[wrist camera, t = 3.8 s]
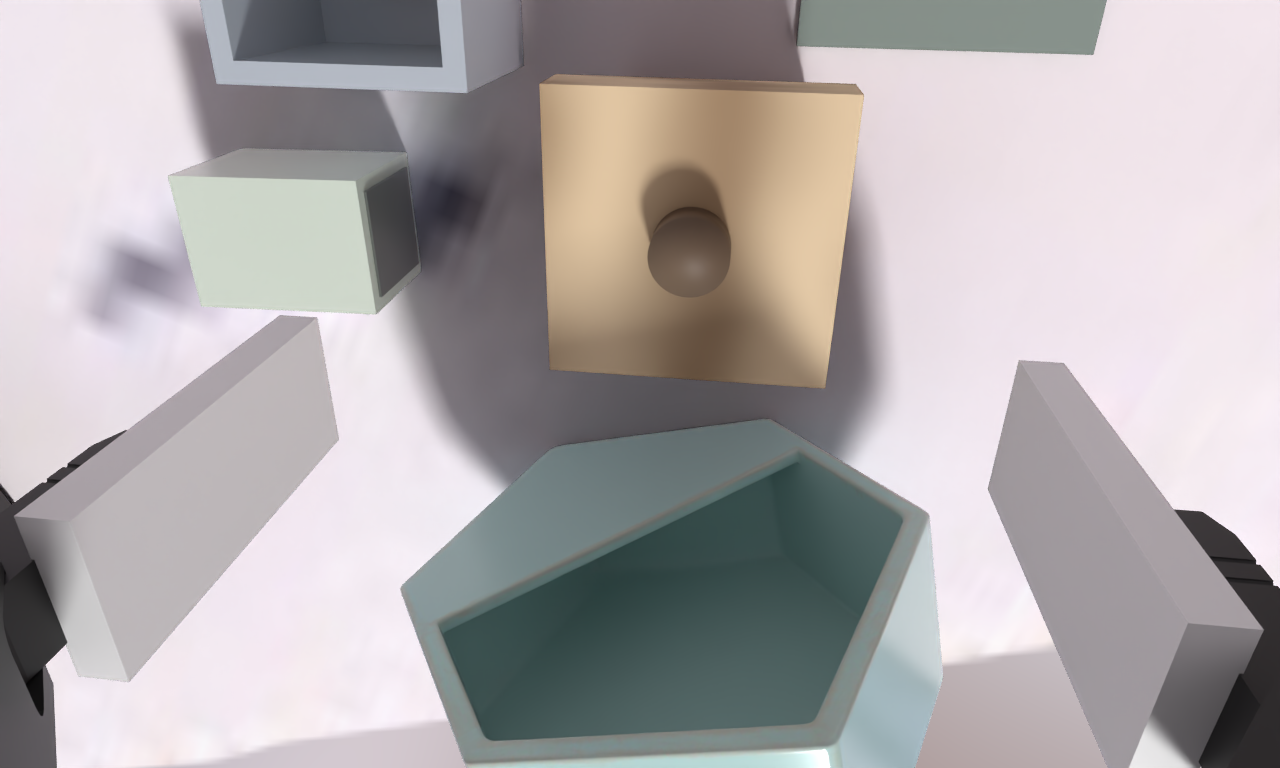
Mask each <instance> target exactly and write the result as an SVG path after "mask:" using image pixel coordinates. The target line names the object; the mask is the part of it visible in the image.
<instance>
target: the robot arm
mask: <svg viewBox="0 0 1280 768" xmlns="http://www.w3.org/2000/svg"><path fill="white" fill-rule="evenodd" d="M338 440H339V437H338V431H337V425H336V420H335V414H334V409H333V403H332V397H331V392H330V386H329V381H328V375H327V369H326V364H325V358H324V353H323V347H322V341H321V336H320V330H319V325H318V319H317V317H300V316H284V315H280V316H278V317H277V318H276V319H274V320H273V321H272V322H270V323H269V324H268V325H266V326H265V327H264V328H262V329H261V330H260V331H258V332H257V333H256V334H254V335H253V336H252V337H250V338H249V339H248V340H247V341H245V342H244V343H243V344H241V345H240V346H239V347H237V348H236V349H235V350H233V351H232V352H231V353H229V354H228V355H227V356H225V357H224V358H223V359H221V360H220V361H219V362H217V363H216V364H215V365H213V366H212V367H211V368H209V369H208V370H207V371H205V372H204V373H203V374H201V375H200V376H199V377H197V378H196V379H195V380H194V381H192V382H191V383H190V384H188V385H187V386H186V387H184V388H183V389H182V390H180V391H179V392H178V393H176V394H175V395H174V396H172V397H171V398H170V399H168V400H167V401H166V402H164V403H163V404H162V405H160V406H159V407H158V408H156V409H155V410H154V411H152V412H151V413H150V414H148V415H147V416H146V417H144V418H143V419H142V420H141V421H139V422H138V423H137V424H135V425H134V426H133V427H131V428H130V429H129V430H125V431H123V432H121V433H118V434H116V435H114V436H112V437H110V438H107V439H105V440H103V441H101V442H99V443H96V444H94V445H92V446H91V447H89V448H88V449H87V450H85V451H84V452H83V453H81V454H80V455H79V456H77V457H76V458H75V459H73V460H72V461H70V462H69V463H68V466H67V468H65V467H62V468H61V469H60V470H58V471H57V472H56V473H54V474H53V475H51V476H50V477H49V478H47V482H46V483H41V484H39V485H38V486H37V487H35V488H34V489H32V490H31V491H30V492H28V493H27V494H26V495H24V496H23V497H22V498H20V499H19V500H18V501H16V502H15V503H14V504H12V505H11V503H10V502H9V501H8V499H7V498H6V497H5V495H4V494H3V493H2V492H1V491H0V768H57V762H56V738H55V714H54V690H53V682H52V680H51V678H50V675H49V673H48V670H47V668H46V666H45V665H46V664H47V663H48V662H49V661H50V660H51V659H52V658H53V657H54V656H55V655H56V654H57V653H58V652H59V651H60V650H61V649H62V648H63V647H64V646H65V645H66V647H67V649H68V652H69V654H70V657H71V659H72V661H73V664H74V666H75V669H76V671H77V674H78V676H79V677H88V678H97V679H106V680H115V681H124V682H130V681H131V679H132V678H133V677H134V676H135V675H136V674H137V672H138V671H139V670H140V669H141V668H142V667H143V666H144V664H145V663H146V662H147V661H148V660H149V659H150V657H151V656H152V655H153V654H154V653H155V652H156V650H157V649H158V648H159V647H160V646H161V645H162V644H163V642H164V641H165V640H166V639H167V638H168V637H169V635H170V634H171V633H172V632H173V631H174V630H175V628H176V627H177V626H178V625H179V624H180V623H181V622H182V620H183V619H184V618H185V617H186V616H187V615H188V613H189V612H190V611H191V610H192V609H193V608H194V606H195V605H196V604H197V603H198V602H199V601H200V600H201V598H202V597H203V596H204V595H205V594H206V593H207V591H208V590H209V589H210V588H211V587H212V586H213V584H214V583H215V582H216V581H217V580H218V579H219V578H220V576H221V575H222V574H223V573H224V572H225V571H226V569H227V568H228V567H229V566H230V565H231V564H232V563H233V561H234V560H235V559H236V558H237V557H238V556H239V554H240V553H241V552H242V551H243V550H244V549H245V547H246V546H247V545H248V544H249V543H250V542H251V541H252V539H253V538H254V537H255V536H256V535H257V534H258V532H259V531H260V530H261V529H262V528H263V527H264V525H265V524H266V523H267V522H268V521H269V520H270V519H271V517H272V516H273V515H274V514H275V513H276V512H277V510H278V509H279V508H280V507H281V506H282V505H283V503H284V502H285V501H286V500H287V499H288V498H289V497H290V495H291V494H292V493H293V492H294V491H295V490H296V488H297V487H298V486H299V485H300V484H301V483H302V482H303V480H304V479H305V478H306V477H307V476H308V475H309V473H310V472H311V471H312V470H313V469H314V468H315V466H316V465H317V464H318V463H319V462H320V461H321V460H322V458H323V457H324V456H325V455H326V454H327V453H328V451H329V450H330V449H331V448H332V447H333V446H334V444H335V443H336V442H337V441H338ZM988 491H989V493H990V495H991V498H992V500H993V502H994V505H995V507H996V509H997V512H998V514H999V516H1000V519H1001V521H1002V523H1003V526H1004V528H1005V530H1006V533H1007V535H1008V537H1009V540H1010V542H1011V544H1012V547H1013V549H1014V551H1015V554H1016V556H1017V558H1018V560H1019V563H1020V565H1021V567H1022V570H1023V572H1024V574H1025V577H1026V579H1027V581H1028V584H1029V586H1030V588H1031V591H1032V593H1033V595H1034V598H1035V600H1036V602H1037V605H1038V607H1039V609H1040V612H1041V614H1042V616H1043V619H1044V621H1045V623H1046V626H1047V628H1048V630H1049V633H1050V635H1051V637H1052V640H1053V642H1054V644H1055V646H1056V649H1057V651H1058V653H1059V656H1060V658H1061V660H1062V663H1063V665H1064V667H1065V670H1066V672H1067V674H1068V676H1069V679H1070V681H1071V684H1072V686H1073V688H1074V691H1075V693H1076V695H1077V697H1078V700H1079V702H1080V705H1081V707H1082V709H1083V711H1084V714H1085V716H1086V718H1087V721H1088V723H1089V726H1090V728H1091V730H1092V732H1093V735H1094V737H1095V739H1096V742H1097V744H1098V746H1099V749H1100V751H1101V753H1102V756H1103V758H1104V760H1105V763H1106V765H1107V767H1108V768H1200V766H1201V767H1202V768H1280V588H1279V587H1278V586H1273V580H1272V579H1271V577H1270V576H1269V575H1268V574H1267V573H1266V571H1265V570H1264V569H1263V568H1262V567H1261V565H1256V559H1255V558H1254V557H1253V556H1252V554H1251V553H1250V552H1249V551H1248V549H1247V548H1246V547H1245V546H1244V545H1243V543H1242V542H1241V541H1240V540H1239V539H1238V537H1237V536H1236V535H1235V534H1234V533H1232V532H1231V531H1229V530H1228V529H1226V528H1225V527H1223V526H1222V525H1221V524H1219V523H1218V522H1216V521H1215V520H1213V519H1212V518H1210V517H1209V516H1208V515H1206V514H1205V513H1203V512H1199V511H1186V510H1174V509H1173V508H1172V507H1171V505H1170V504H1169V503H1168V501H1167V500H1166V499H1165V497H1164V496H1163V495H1162V493H1161V492H1160V491H1159V489H1158V488H1157V487H1156V485H1155V484H1154V483H1153V481H1152V480H1151V479H1150V477H1149V476H1148V475H1147V473H1146V472H1145V471H1144V469H1143V468H1142V467H1141V465H1140V464H1139V463H1138V461H1137V460H1136V459H1135V457H1134V456H1133V455H1132V453H1131V452H1130V451H1129V449H1128V448H1127V447H1126V445H1125V444H1124V443H1123V441H1122V440H1121V439H1120V437H1119V436H1118V435H1117V433H1116V432H1115V431H1114V429H1113V428H1112V427H1111V425H1110V424H1109V423H1108V421H1107V420H1106V419H1105V417H1104V416H1103V415H1102V413H1101V412H1100V411H1099V409H1098V408H1097V407H1096V405H1095V404H1094V403H1093V401H1092V400H1091V399H1090V397H1089V396H1088V395H1087V393H1086V392H1085V391H1084V389H1083V388H1082V387H1081V385H1080V384H1079V383H1078V381H1077V380H1076V379H1075V377H1074V376H1073V375H1072V373H1071V372H1070V371H1069V369H1068V368H1067V367H1066V365H1065V364H1064V363H1053V362H1037V361H1021V360H1019V362H1018V366H1017V371H1016V375H1015V379H1014V383H1013V387H1012V391H1011V395H1010V400H1009V404H1008V408H1007V412H1006V416H1005V420H1004V424H1003V429H1002V433H1001V437H1000V441H999V445H998V449H997V453H996V458H995V462H994V466H993V470H992V474H991V478H990V482H989V487H988Z"/></svg>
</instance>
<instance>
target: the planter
mask: <svg viewBox="0 0 1280 768" xmlns="http://www.w3.org/2000/svg"><path fill="white" fill-rule="evenodd" d="M401 594H402V597H403V599H404V602H405V605H406V608H407V611H408V613H409V616H410V619H411V621H412V624H413V627H414V629H415V632H416V635H417V638H418V640H419V643H420V646H421V648H422V651H423V654H424V656H425V659H426V662H427V664H428V667H429V670H430V673H431V675H432V678H433V681H434V683H435V686H436V689H437V691H438V694H439V697H440V699H441V702H442V705H443V708H444V710H445V713H446V716H447V718H448V721H449V724H450V726H451V729H452V732H453V734H454V737H455V740H456V742H457V745H458V748H459V750H460V753H461V756H462V759H463V761H464V763H465V766H466V768H915V766H916V763H917V760H918V757H919V753H920V750H921V747H922V744H923V740H924V737H925V734H926V731H927V728H928V725H929V721H930V718H931V715H932V712H933V708H934V705H935V702H936V699H937V696H938V693H939V689H940V686H941V683H942V680H943V670H942V657H941V645H940V634H939V622H938V610H937V598H936V586H935V574H934V562H933V550H932V538H931V526H930V517H929V514H928V513H927V512H926V511H924V510H923V509H921V508H920V507H918V506H916V505H915V504H913V503H911V502H910V501H908V500H906V499H905V498H903V497H901V496H899V495H898V494H896V493H894V492H893V491H891V490H889V489H888V488H886V487H884V486H883V485H881V484H879V483H878V482H876V481H874V480H873V479H871V478H869V477H868V476H866V475H864V474H863V473H861V472H859V471H858V470H856V469H854V468H852V467H851V466H849V465H847V464H846V463H844V462H842V461H841V460H839V459H837V458H836V457H834V456H832V455H831V454H829V453H827V452H826V451H824V450H822V449H821V448H819V447H817V446H816V445H814V444H812V443H810V442H809V441H807V440H805V439H804V438H802V437H800V436H799V435H797V434H795V433H794V432H792V431H790V430H789V429H787V428H785V427H784V426H782V425H780V424H778V423H777V422H775V421H773V420H771V419H760V420H752V421H744V422H736V423H729V424H721V425H713V426H706V427H698V428H690V429H682V430H675V431H667V432H659V433H652V434H644V435H636V436H629V437H621V438H613V439H606V440H598V441H590V442H583V443H575V444H568V445H561V446H557V447H554V448H552V449H550V450H548V451H547V452H546V453H545V454H544V455H543V456H542V457H541V458H540V459H538V460H537V461H536V462H535V463H534V464H533V465H532V466H531V467H530V468H529V469H528V470H526V471H525V472H524V473H523V474H522V475H521V476H520V477H519V478H518V479H517V480H516V481H514V482H513V483H512V484H511V485H510V486H509V487H508V488H507V489H506V490H505V491H504V492H503V493H501V494H500V495H499V496H498V497H497V498H496V499H495V500H494V501H493V502H492V503H491V504H489V505H488V506H487V507H486V508H485V509H484V510H483V511H482V512H481V513H480V514H479V515H478V516H476V517H475V518H474V519H473V520H472V521H471V522H470V523H469V524H468V525H467V526H466V527H465V528H463V529H462V530H461V531H460V532H459V533H458V534H457V535H456V536H455V537H454V538H453V539H452V540H450V541H449V542H448V543H447V544H446V545H445V546H444V547H443V548H442V549H441V550H440V551H439V552H437V553H436V554H435V555H434V556H433V557H432V558H431V559H430V560H429V561H428V562H427V563H426V564H424V565H423V566H422V567H421V568H420V569H419V570H418V571H417V572H416V573H415V574H414V575H413V576H411V577H410V578H409V579H408V580H407V581H406V582H405V583H404V584H403V585H402V586H401Z"/></svg>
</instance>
